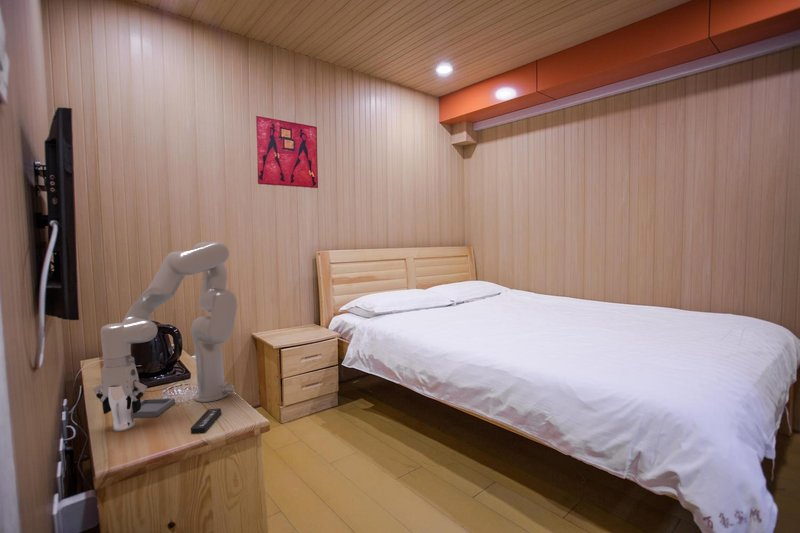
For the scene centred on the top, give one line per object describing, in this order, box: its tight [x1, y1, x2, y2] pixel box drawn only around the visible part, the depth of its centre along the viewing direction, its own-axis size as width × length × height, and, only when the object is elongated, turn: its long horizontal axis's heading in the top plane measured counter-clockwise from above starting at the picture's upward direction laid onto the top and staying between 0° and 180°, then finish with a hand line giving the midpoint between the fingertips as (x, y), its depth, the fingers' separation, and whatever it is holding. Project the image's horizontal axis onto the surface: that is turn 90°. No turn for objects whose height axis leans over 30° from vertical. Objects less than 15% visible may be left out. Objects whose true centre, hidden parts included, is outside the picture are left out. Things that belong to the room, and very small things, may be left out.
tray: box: [132, 397, 176, 419], centre depth 153 cm, size 12×12×2 cm
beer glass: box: [108, 386, 135, 432], centre depth 139 cm, size 7×7×15 cm
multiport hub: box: [190, 407, 222, 435], centre depth 141 cm, size 4×14×2 cm, turn 3°
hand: (122, 411), depth 139 cm, fingers open, 9 cm apart
